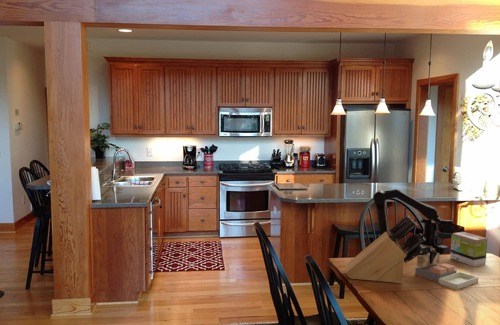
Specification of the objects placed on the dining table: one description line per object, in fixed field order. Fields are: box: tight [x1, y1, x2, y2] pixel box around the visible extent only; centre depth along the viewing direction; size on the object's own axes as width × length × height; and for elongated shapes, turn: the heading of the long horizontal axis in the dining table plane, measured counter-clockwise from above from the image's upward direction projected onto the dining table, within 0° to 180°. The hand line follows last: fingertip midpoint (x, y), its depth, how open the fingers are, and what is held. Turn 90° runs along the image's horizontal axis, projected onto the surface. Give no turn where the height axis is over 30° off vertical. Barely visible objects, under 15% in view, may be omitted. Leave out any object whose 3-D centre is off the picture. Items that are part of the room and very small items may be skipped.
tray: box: [437, 271, 479, 291], centre depth 196 cm, size 18×9×2 cm, turn 123°
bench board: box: [414, 263, 457, 283], centre depth 205 cm, size 14×13×4 cm
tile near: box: [431, 266, 446, 274], centre depth 200 cm, size 5×5×2 cm
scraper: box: [416, 252, 441, 268], centre depth 208 cm, size 14×3×5 cm, turn 123°
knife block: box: [344, 215, 426, 284], centre depth 199 cm, size 11×35×31 cm, turn 78°
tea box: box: [449, 231, 488, 268], centre depth 228 cm, size 15×10×15 cm, turn 25°
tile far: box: [438, 263, 456, 272], centre depth 204 cm, size 5×5×2 cm
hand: (428, 262), depth 209 cm, fingers closed on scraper, 3 cm apart
